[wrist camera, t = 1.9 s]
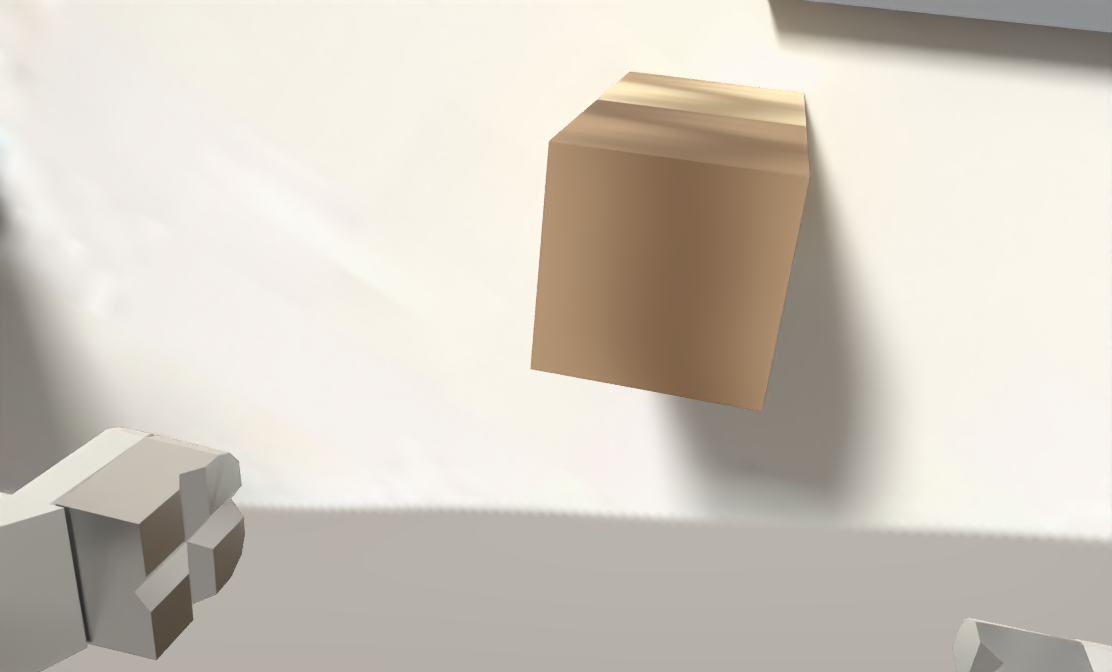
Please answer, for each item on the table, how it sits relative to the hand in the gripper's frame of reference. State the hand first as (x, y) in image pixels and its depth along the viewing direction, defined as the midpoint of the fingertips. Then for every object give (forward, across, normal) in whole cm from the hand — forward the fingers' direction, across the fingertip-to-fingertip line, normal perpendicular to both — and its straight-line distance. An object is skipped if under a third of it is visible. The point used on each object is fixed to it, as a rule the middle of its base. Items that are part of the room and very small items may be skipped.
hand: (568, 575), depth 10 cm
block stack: (+19, 0, 0) cm, 19 cm away
